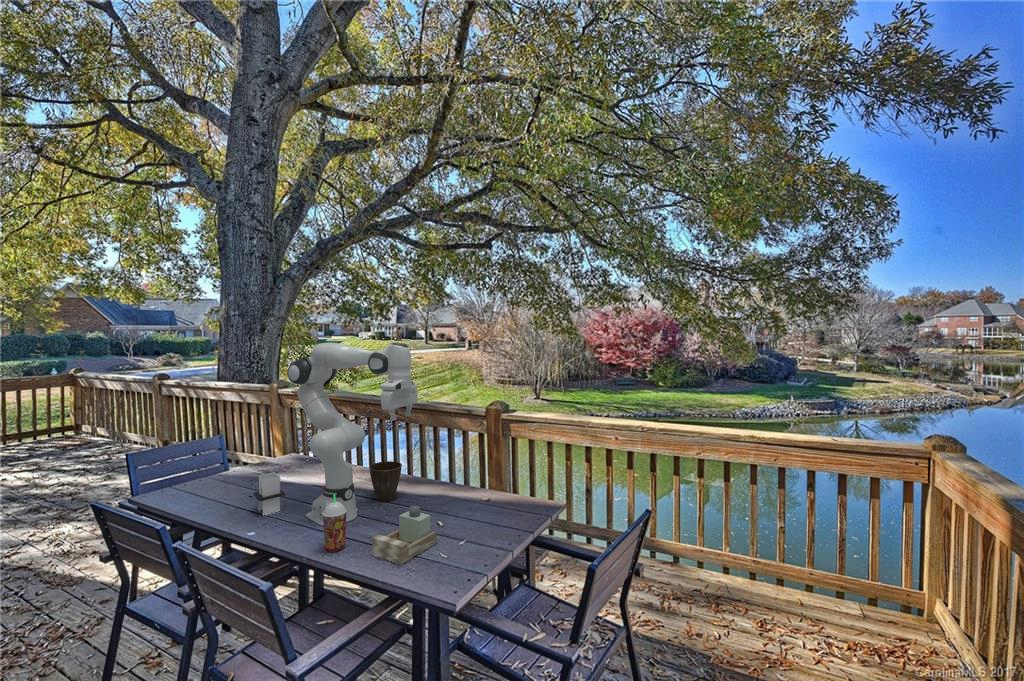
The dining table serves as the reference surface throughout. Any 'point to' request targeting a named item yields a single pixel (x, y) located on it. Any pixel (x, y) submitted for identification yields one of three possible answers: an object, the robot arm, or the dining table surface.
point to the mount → (400, 547)
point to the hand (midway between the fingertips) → (400, 418)
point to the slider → (413, 525)
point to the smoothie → (334, 526)
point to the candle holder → (269, 493)
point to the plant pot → (385, 479)
